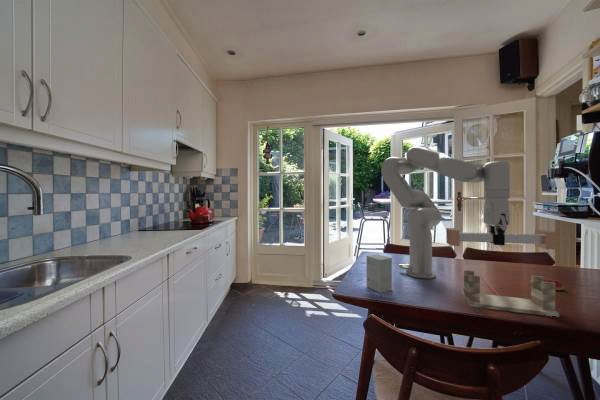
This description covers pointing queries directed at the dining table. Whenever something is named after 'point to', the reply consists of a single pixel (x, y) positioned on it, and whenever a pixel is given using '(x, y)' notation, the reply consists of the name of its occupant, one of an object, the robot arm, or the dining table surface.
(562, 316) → the dining table surface
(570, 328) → the dining table surface
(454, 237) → the steel bar
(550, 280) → the ladybug figurine
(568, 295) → the dining table surface
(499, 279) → the dining table surface
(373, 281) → the small box
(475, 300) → the hanger stand
